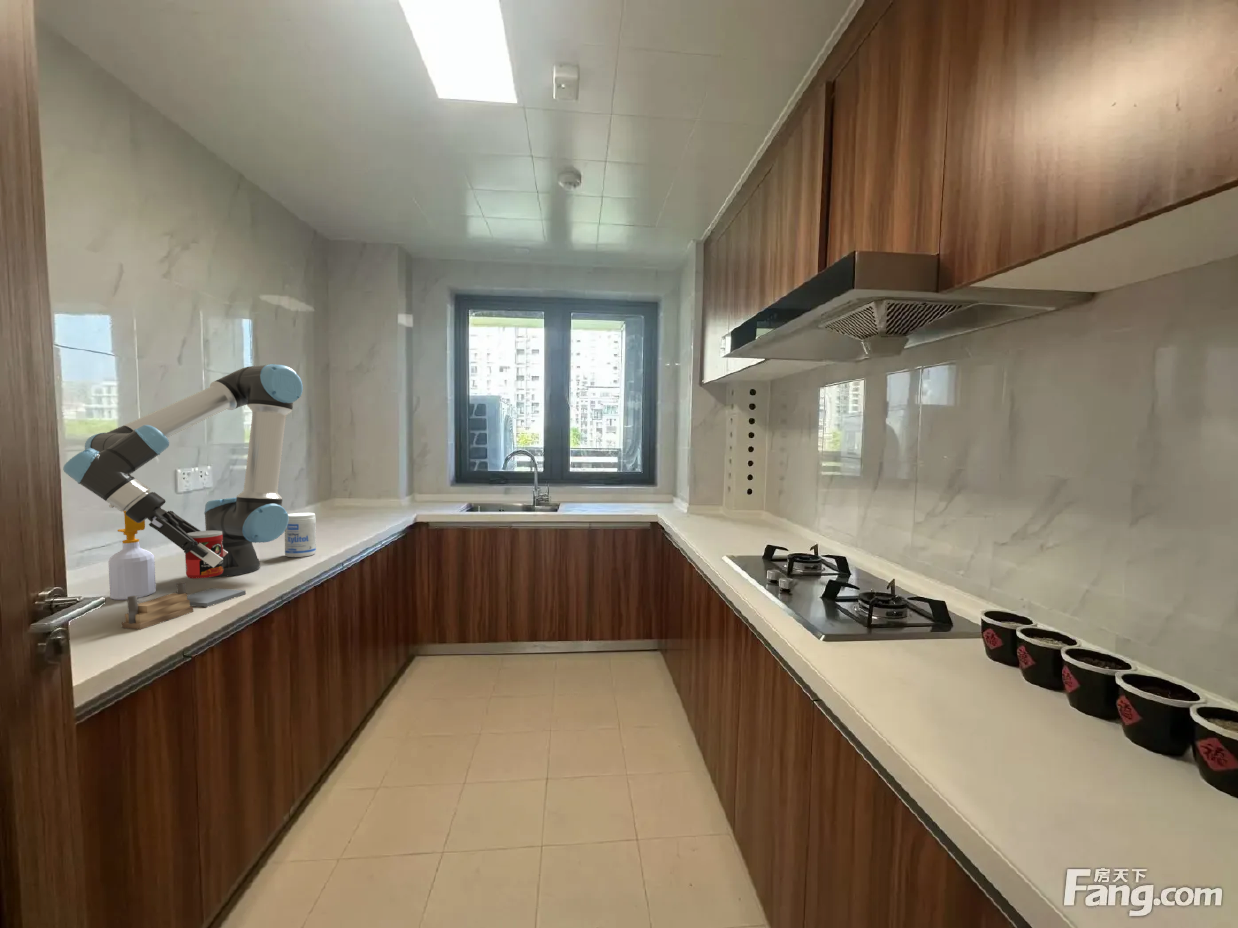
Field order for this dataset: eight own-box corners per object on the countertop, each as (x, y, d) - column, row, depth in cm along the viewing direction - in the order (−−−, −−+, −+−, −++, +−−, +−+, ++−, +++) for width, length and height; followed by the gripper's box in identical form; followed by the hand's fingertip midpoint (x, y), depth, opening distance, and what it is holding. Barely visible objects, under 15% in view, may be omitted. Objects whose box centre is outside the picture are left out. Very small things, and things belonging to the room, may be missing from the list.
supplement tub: (286, 559, 183) (284, 517, 182) (284, 554, 191) (282, 513, 190) (318, 555, 188) (317, 514, 188) (315, 550, 196) (313, 511, 195)
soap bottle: (145, 588, 148) (141, 500, 146) (162, 592, 144) (158, 502, 142) (103, 597, 140) (98, 504, 138) (120, 602, 136) (115, 506, 134)
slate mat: (211, 591, 145) (211, 588, 145) (245, 594, 143) (245, 590, 143) (170, 604, 134) (170, 600, 134) (207, 606, 132) (206, 603, 132)
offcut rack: (177, 610, 130) (175, 581, 129) (194, 611, 129) (192, 582, 128) (120, 628, 118) (119, 596, 117) (139, 629, 117) (137, 598, 116)
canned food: (203, 579, 133) (202, 536, 132) (177, 577, 134) (176, 534, 134) (231, 572, 140) (230, 530, 140) (206, 570, 142) (205, 529, 142)
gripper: (136, 508, 138) (215, 562, 147) (109, 518, 120) (200, 580, 129) (162, 487, 141) (238, 542, 149) (139, 494, 122) (227, 556, 131)
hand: (221, 559), depth 139 cm, fingers closed on canned food, 8 cm apart
